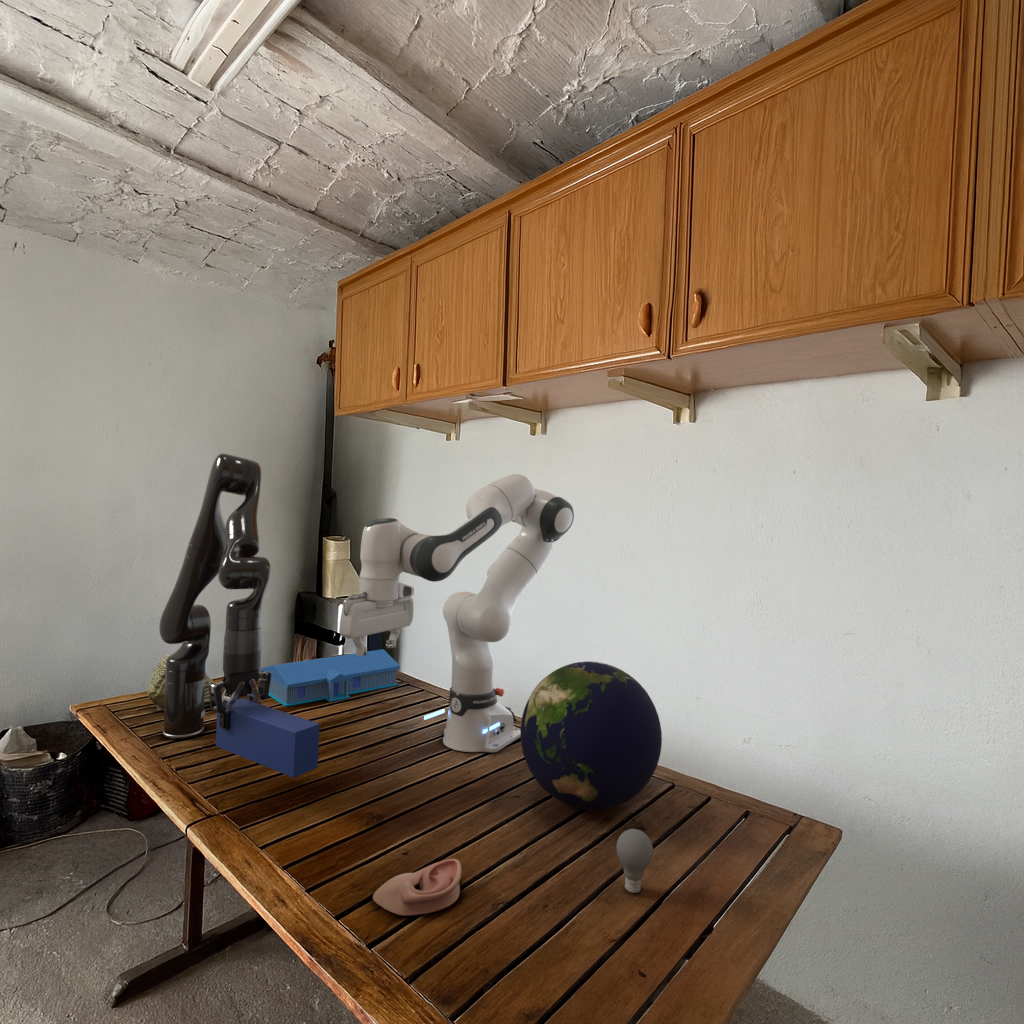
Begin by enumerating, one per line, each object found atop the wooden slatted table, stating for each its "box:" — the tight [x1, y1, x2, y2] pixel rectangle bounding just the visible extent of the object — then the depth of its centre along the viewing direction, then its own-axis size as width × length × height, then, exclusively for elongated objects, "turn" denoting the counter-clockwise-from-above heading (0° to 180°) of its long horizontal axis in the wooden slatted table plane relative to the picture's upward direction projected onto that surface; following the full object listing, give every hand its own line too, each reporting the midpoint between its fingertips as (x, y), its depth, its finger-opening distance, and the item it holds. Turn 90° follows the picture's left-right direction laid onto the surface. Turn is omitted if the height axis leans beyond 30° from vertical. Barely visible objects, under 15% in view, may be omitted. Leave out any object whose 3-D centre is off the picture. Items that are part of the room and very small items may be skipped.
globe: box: [520, 660, 663, 811], centre depth 136 cm, size 30×30×30 cm
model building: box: [259, 649, 401, 707], centre depth 208 cm, size 39×24×10 cm, turn 132°
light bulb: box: [615, 828, 654, 894], centre depth 106 cm, size 6×6×10 cm
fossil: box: [147, 654, 215, 712], centre depth 185 cm, size 9×18×15 cm, turn 132°
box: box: [215, 697, 321, 779], centre depth 133 cm, size 25×6×9 cm, turn 59°
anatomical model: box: [372, 858, 462, 917], centre depth 102 cm, size 13×4×12 cm
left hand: (239, 724), depth 138 cm, fingers closed on box, 6 cm apart
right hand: (376, 651), depth 143 cm, fingers open, 8 cm apart
